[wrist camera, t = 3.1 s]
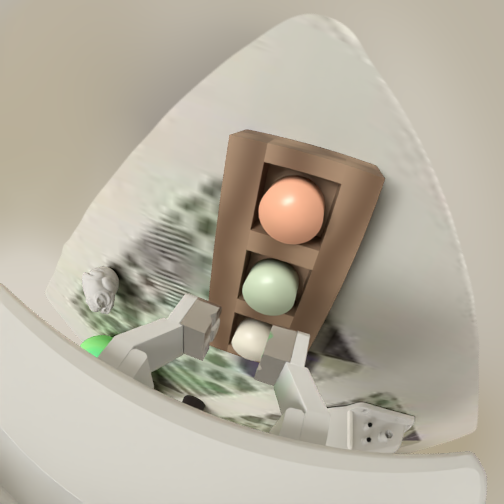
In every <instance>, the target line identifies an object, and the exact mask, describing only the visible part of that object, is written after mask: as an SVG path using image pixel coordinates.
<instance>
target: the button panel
mask: <svg viewBox="0 0 504 504" xmlns="http://www.w3.org/2000/svg"><path fill="white" fill-rule="evenodd" d="M289 175H299V176H303V177H306V178H308V179H310V180H311V181H313V182H314V183H315V184H316V185H317V186H318V187H319V189H320V190H321V192H322V194H323V197H324V201H325V207H324V216H323V223H322V226H321V229H320V230H319V232H318V233H317V234H316V236H314V237H313V238H312V239H311V240H309V241H307V242H304V243H301V244H285V243H282V242H279V241H277V240H275V239H274V238H272V237H271V236H270V235H269V234H268V233H267V232H266V231H265V230H264V228H263V226H262V225H261V222H260V219H259V205H260V202H261V200H262V198H263V196H264V195H265V194H266V192H267V191H268V190H269V188H270V187H271V186H272V185H273V183H274V182H276V181H277V180H278V179H280V178H282V177H285V176H289ZM384 180H385V178H384V176H383V175H382V173H381V172H380V170H379V169H378V167H377V166H376V165H373V164H370V163H367V162H365V161H362V160H359V159H356V158H353V157H350V156H347V155H344V154H341V153H337V152H334V151H331V150H328V149H324V148H321V147H317V146H314V145H310V144H307V143H303V142H299V141H295V140H291V139H287V138H283V137H279V136H275V135H271V134H266V133H262V132H257V131H252V130H244V131H240V132H237V133H234V134H231V135H229V142H228V148H227V155H226V161H225V168H224V175H223V182H222V189H221V197H220V204H219V212H218V220H217V228H216V236H215V245H214V253H213V262H212V272H211V281H210V291H209V302H212V303H214V304H217V305H220V306H221V307H222V311H221V314H220V316H219V319H220V325H219V329H218V331H217V334H216V336H215V338H214V340H213V341H212V342H210V346H213V347H216V348H218V349H221V350H224V351H226V352H229V353H232V354H235V355H238V356H240V355H239V354H238V353H237V352H236V351H235V350H234V348H233V347H232V339H233V337H234V335H235V332H236V330H237V328H238V326H239V324H240V322H241V321H242V320H243V319H245V318H248V317H251V318H254V319H257V320H260V321H263V322H266V323H269V324H272V325H273V323H274V324H277V325H280V326H284V327H287V328H290V329H294V330H297V331H300V332H304V333H307V334H310V340H309V345H308V351H309V349H310V347H311V345H312V343H313V341H314V340H315V338H316V336H317V334H318V332H319V330H320V328H321V326H322V325H323V323H324V321H325V319H326V317H327V315H328V313H329V311H330V309H331V307H332V305H333V303H334V301H335V299H336V297H337V295H338V292H339V290H340V288H341V286H342V284H343V282H344V280H345V278H346V275H347V273H348V271H349V269H350V266H351V264H352V262H353V260H354V257H355V255H356V253H357V250H358V248H359V246H360V243H361V241H362V239H363V236H364V234H365V231H366V229H367V226H368V224H369V221H370V219H371V216H372V213H373V211H374V208H375V206H376V203H377V200H378V197H379V195H380V192H381V189H382V186H383V183H384ZM266 258H275V259H278V260H281V261H284V262H287V263H288V264H290V265H291V266H292V267H293V268H294V269H295V271H296V272H297V274H298V278H299V286H298V290H297V294H296V298H295V302H294V305H293V307H292V308H291V309H290V310H289V311H288V312H286V313H284V314H282V315H277V316H270V315H265V314H261V313H259V312H257V311H255V310H254V309H252V308H251V307H250V306H249V305H248V304H247V303H246V301H245V299H244V297H243V293H242V288H243V285H244V283H245V281H246V279H247V277H248V275H249V273H250V271H251V269H252V267H253V266H254V265H255V264H256V263H257V262H258V261H260V260H262V259H266ZM308 351H307V352H308ZM241 357H242V356H241ZM256 362H259V363H260V361H256Z"/></svg>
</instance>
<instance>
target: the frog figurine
mask: <svg viewBox="0 0 504 504" xmlns="http://www.w3.org/2000/svg"><path fill="white" fill-rule="evenodd" d="M82 285H83V290H84V294H85V297H86V303H87V304H88V306H89V308H90V310H92V311H93V312H98V311H100V312H101V313H106V314H109V312H110V310H111V309H112V308H113V306H114V300H115V294H116V292H117V290H118V288H119V279H118V276H117V274H116V273H115V272H114V271H113V270H112V269H111V268H109V267H104V266H102V267H98V268H95V269H93V270H91V271H90V272H89V273H86V272H84V273H83V276H82Z"/></svg>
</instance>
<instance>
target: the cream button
mask: <svg viewBox="0 0 504 504" xmlns="http://www.w3.org/2000/svg"><path fill="white" fill-rule="evenodd" d="M271 328H272V324H269V323H266V322H263V321H260V320H257V319H254V318H251V317H248V318H245V319H243V320H242V321H241V322H240V324H239V326H238V328H237V330H236V332H235V335H234V337H233V339H232V347H233V348H234V350H235V351H236V352H237V353H238V354H239V355H240V356H242V357H244V358H246V359H248V360H252V361H260V360H261V357H262V354H263V351H264V348H265V345H266V342H267V339H268V337H269V334H270V331H271Z"/></svg>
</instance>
